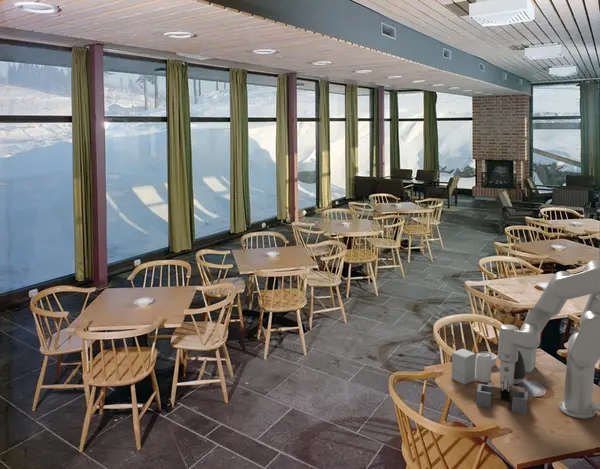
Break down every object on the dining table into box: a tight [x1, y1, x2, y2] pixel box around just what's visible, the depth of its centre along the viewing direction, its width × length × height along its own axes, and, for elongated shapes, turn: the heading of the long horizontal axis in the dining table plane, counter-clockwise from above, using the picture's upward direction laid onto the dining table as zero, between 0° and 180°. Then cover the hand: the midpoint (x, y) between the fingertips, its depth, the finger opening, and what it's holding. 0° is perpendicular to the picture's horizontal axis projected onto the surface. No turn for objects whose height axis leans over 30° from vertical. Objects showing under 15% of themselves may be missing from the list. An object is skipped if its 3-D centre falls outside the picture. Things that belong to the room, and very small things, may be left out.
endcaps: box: [475, 383, 528, 415], centre depth 209 cm, size 18×7×6 cm, turn 66°
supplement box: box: [450, 348, 477, 385], centre depth 230 cm, size 7×7×13 cm
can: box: [475, 351, 492, 384], centre depth 230 cm, size 6×6×12 cm
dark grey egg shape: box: [513, 350, 527, 385], centre depth 227 cm, size 10×10×15 cm
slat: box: [487, 381, 525, 402], centre depth 215 cm, size 14×4×5 cm, turn 66°
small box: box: [518, 347, 537, 374], centre depth 240 cm, size 8×6×13 cm
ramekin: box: [487, 351, 498, 368], centre depth 246 cm, size 9×9×4 cm
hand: (505, 396), depth 215 cm, fingers closed on slat, 3 cm apart
